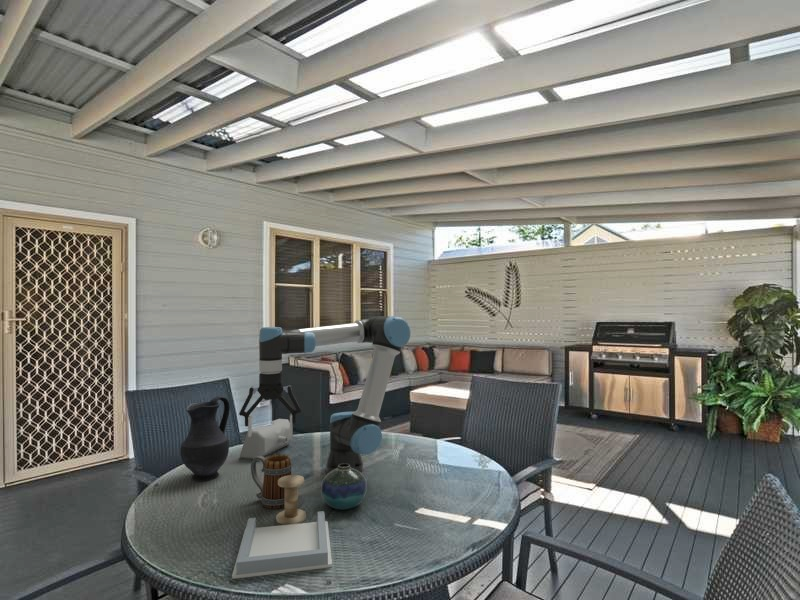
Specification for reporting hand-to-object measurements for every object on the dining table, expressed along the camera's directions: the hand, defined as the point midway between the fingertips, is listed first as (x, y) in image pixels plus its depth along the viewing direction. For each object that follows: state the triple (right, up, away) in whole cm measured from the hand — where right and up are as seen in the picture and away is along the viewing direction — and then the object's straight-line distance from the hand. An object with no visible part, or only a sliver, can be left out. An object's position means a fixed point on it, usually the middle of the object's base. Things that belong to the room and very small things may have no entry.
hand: (270, 434), depth 155 cm
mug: (0, -23, -1) cm, 23 cm away
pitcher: (-31, -24, +24) cm, 46 cm away
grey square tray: (+13, -22, -31) cm, 40 cm away
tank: (-15, -24, +54) cm, 61 cm away
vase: (+25, -23, -4) cm, 34 cm away
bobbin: (+10, -22, -13) cm, 28 cm away
